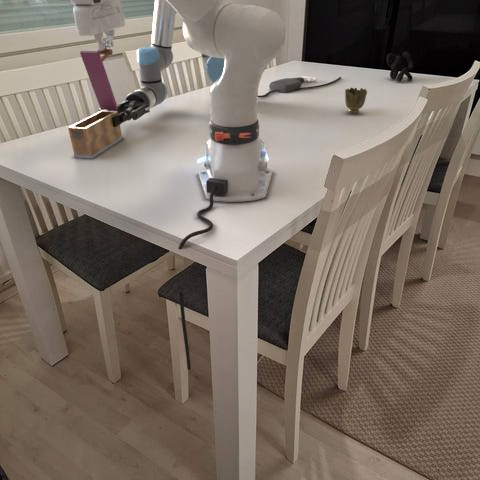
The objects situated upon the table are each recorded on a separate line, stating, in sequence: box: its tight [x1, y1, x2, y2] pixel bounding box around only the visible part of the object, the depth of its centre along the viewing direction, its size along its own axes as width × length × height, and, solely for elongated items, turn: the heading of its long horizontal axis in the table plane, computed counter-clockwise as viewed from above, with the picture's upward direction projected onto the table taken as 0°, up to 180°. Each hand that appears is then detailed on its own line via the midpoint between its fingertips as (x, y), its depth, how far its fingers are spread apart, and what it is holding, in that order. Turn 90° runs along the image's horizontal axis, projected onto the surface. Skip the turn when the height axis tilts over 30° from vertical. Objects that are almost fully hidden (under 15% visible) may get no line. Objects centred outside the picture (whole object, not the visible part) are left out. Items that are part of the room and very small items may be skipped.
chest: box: [67, 110, 123, 160], centre depth 131 cm, size 17×6×9 cm, turn 163°
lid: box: [79, 48, 118, 110], centre depth 131 cm, size 18×6×8 cm
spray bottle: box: [268, 75, 317, 93], centre depth 194 cm, size 3×11×24 cm
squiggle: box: [385, 51, 414, 83], centre depth 198 cm, size 11×10×15 cm
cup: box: [344, 87, 368, 115], centre depth 156 cm, size 8×7×8 cm
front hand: (106, 48), depth 130 cm, fingers closed
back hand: (104, 121), depth 134 cm, fingers closed on chest, 6 cm apart
